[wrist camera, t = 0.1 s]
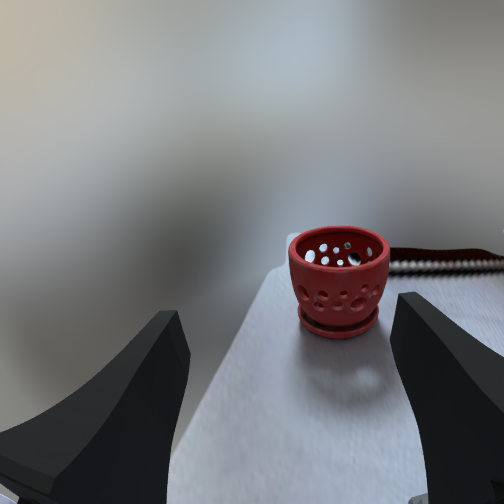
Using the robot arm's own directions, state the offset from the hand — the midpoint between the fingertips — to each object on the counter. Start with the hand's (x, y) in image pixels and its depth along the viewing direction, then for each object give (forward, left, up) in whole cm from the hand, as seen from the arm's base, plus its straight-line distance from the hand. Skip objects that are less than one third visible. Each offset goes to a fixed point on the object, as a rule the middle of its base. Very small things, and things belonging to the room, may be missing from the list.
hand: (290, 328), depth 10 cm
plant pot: (+29, -8, -22) cm, 37 cm away
